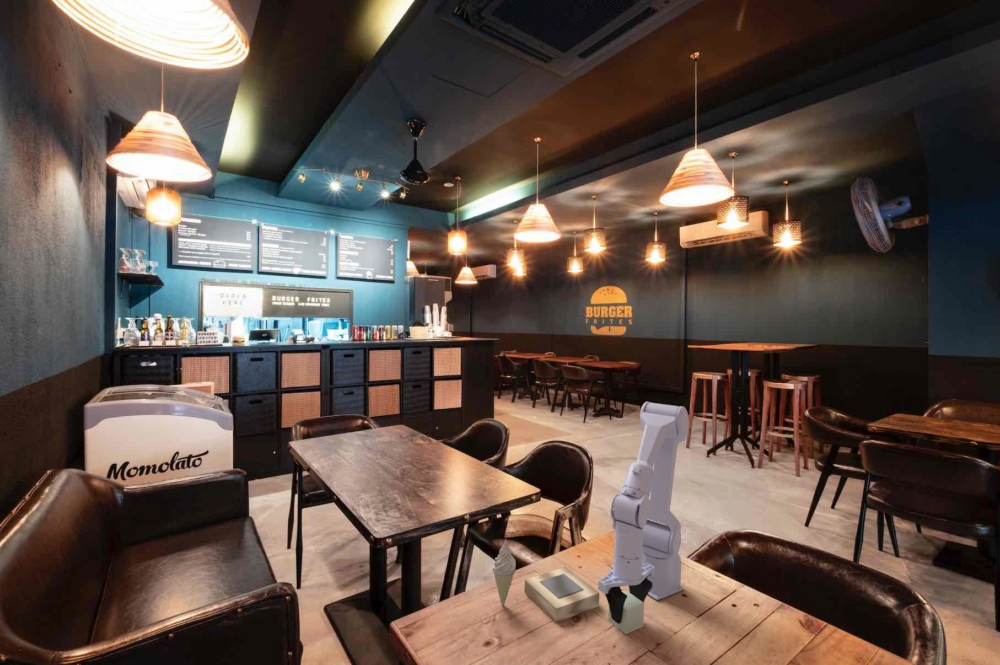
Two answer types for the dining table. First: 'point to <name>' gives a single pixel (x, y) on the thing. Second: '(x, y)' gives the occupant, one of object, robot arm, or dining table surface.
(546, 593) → the birch pedestal
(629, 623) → the sage cube
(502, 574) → the ice cream cone
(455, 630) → the dining table surface
